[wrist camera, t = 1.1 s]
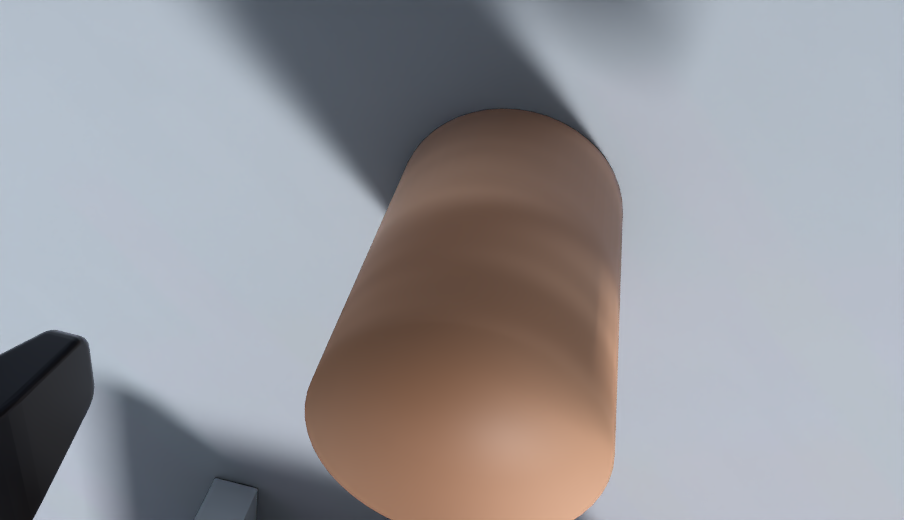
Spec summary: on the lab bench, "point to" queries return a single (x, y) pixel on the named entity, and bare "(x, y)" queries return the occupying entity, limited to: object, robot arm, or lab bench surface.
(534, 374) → the brown elongated piece
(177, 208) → the lab bench surface
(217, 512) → the shelf lane
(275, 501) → the lab bench surface
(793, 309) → the lab bench surface
